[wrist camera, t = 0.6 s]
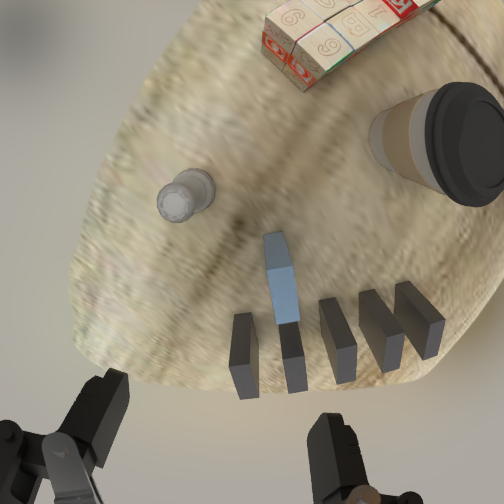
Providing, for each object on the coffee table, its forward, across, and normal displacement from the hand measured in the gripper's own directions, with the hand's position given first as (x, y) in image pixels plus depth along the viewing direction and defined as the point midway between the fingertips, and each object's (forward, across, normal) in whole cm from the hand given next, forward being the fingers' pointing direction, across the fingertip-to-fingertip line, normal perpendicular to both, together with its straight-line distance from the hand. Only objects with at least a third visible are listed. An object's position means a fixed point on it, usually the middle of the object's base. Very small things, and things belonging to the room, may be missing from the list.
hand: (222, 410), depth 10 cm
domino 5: (+22, -21, +3) cm, 30 cm away
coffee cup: (+22, -13, -15) cm, 29 cm away
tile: (+21, -4, +1) cm, 22 cm away
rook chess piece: (+22, +6, -4) cm, 23 cm away
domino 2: (+21, -7, +9) cm, 24 cm away
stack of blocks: (+22, -5, -27) cm, 35 cm away
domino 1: (+21, -3, +11) cm, 24 cm away
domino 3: (+22, -12, +7) cm, 26 cm away
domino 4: (+22, -16, +5) cm, 27 cm away
